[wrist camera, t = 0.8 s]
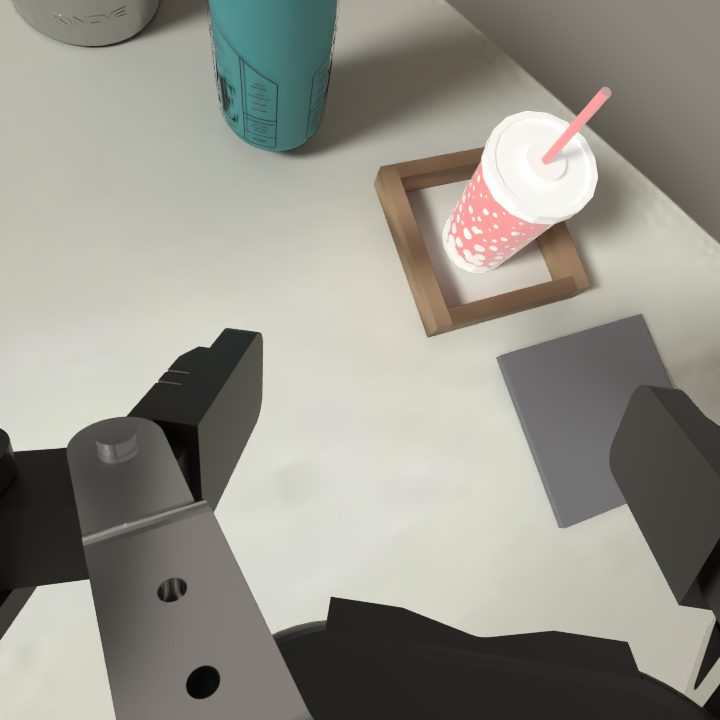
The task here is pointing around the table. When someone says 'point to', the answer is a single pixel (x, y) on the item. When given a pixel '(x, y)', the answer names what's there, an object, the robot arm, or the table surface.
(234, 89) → the beverage bottle
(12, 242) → the table surface
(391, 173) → the walnut holder
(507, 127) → the beverage cup
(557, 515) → the rubber mat
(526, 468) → the table surface
